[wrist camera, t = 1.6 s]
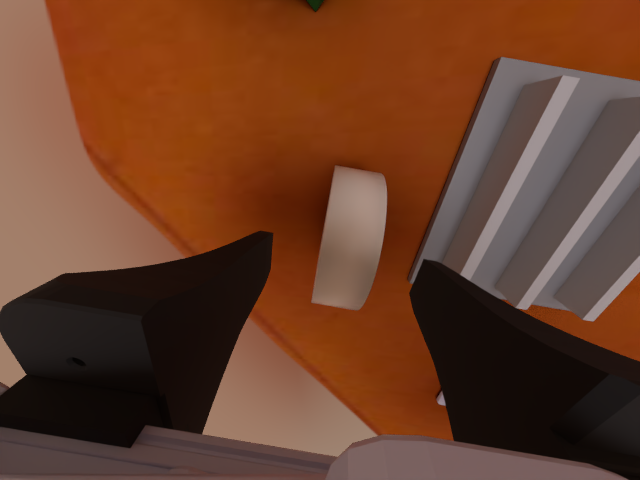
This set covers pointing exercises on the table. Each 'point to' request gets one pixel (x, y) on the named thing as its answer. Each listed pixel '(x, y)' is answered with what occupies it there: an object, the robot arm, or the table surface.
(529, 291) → the dish rack
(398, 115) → the table surface
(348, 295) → the cream round puck
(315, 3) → the milk carton
